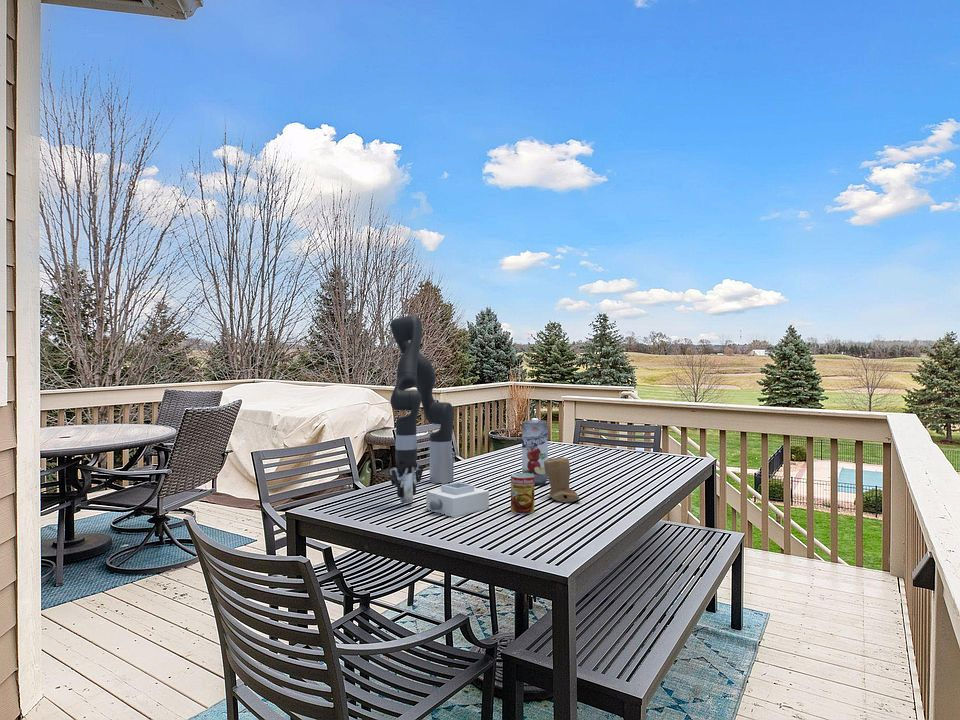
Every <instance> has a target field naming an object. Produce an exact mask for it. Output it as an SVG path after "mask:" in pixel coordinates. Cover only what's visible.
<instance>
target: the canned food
mask: <svg viewBox="0 0 960 720" xmlns="http://www.w3.org/2000/svg"><path fill="white" fill-rule="evenodd" d="M510 511H511V513H514V514H517V515H530V514H533V513H535V485H534V475H533V474H529V473H522V472H515V473H511V474H510Z"/></svg>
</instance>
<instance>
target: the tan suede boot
mask: <svg viewBox="0 0 960 720" xmlns="http://www.w3.org/2000/svg"><path fill="white" fill-rule="evenodd" d="M544 469H545V472H546V475H547V480H548V483H549V486H550V490H549V492H548V494H549V496H550V497H551V499H553V500H555V501H557V502H561V503H571V502H575V501H578V500H579V499H580V496H579V495H578V493H577V492H576V491H575V490H574V489H571V488H570V477H571V465H570V460H569V458H568V457H562V456H561V457H555V458H548V459H547V460H545V461H544Z"/></svg>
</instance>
